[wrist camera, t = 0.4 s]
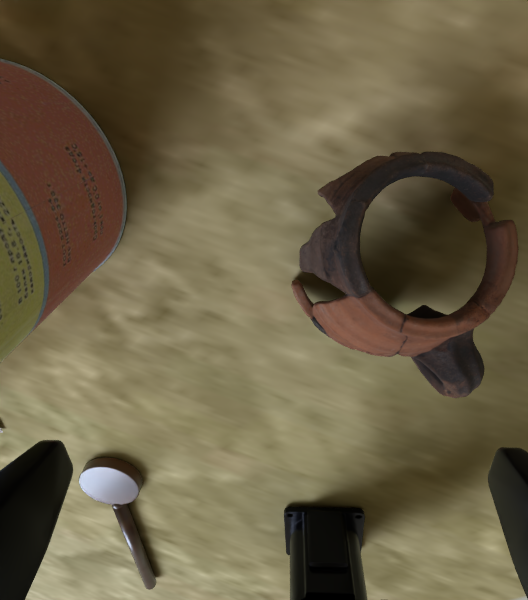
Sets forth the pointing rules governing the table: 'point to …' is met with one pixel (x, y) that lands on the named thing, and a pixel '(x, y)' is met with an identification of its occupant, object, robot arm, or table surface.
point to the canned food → (50, 199)
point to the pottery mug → (370, 305)
